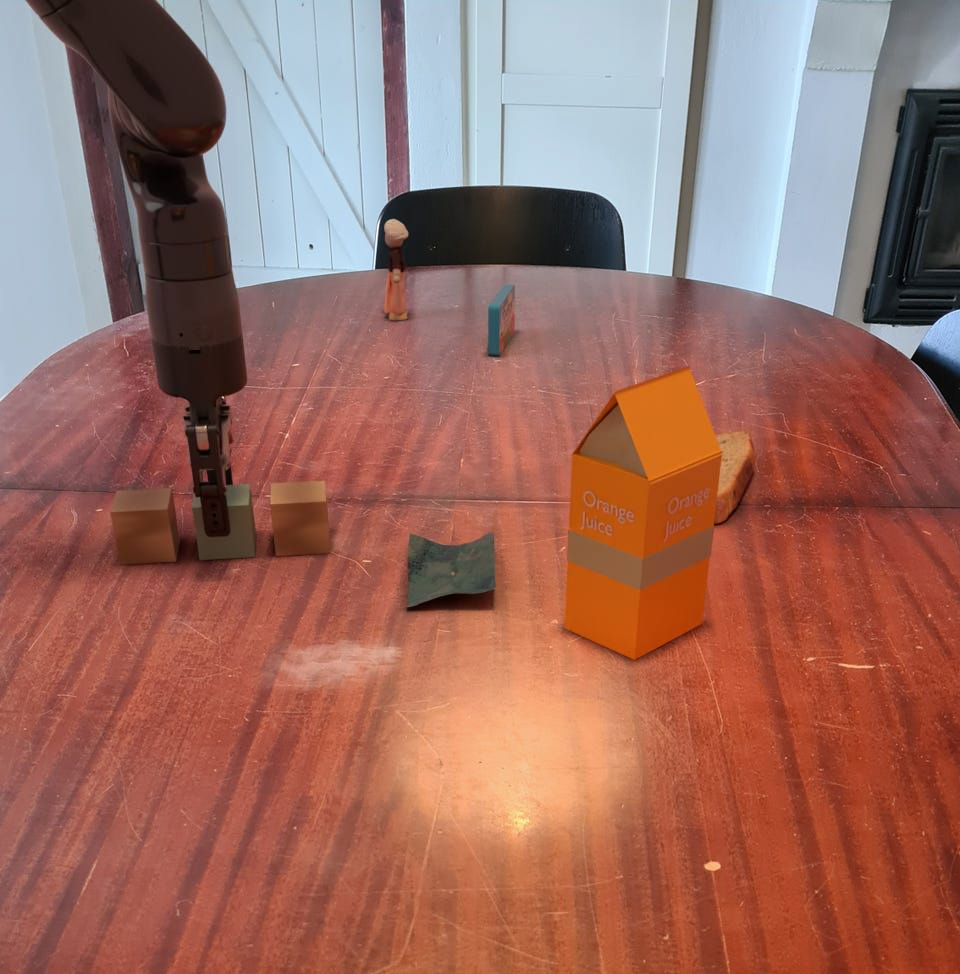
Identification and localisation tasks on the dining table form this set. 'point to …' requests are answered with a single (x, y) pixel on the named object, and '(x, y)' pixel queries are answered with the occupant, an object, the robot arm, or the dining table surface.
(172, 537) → the beech block left
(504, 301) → the teal flat box
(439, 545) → the terrain model
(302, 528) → the beech block right
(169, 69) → the robot arm
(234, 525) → the sage block
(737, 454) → the bread slice
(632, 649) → the orange juice
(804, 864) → the dining table surface
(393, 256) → the grandmother figurine
